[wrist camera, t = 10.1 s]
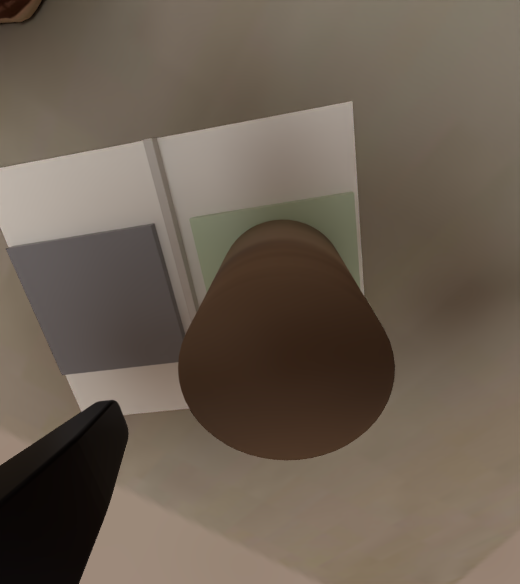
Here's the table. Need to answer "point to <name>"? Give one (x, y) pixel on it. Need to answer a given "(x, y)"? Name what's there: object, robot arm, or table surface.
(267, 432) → the brown tapered cylinder
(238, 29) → the table surface
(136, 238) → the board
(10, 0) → the coffee cup
